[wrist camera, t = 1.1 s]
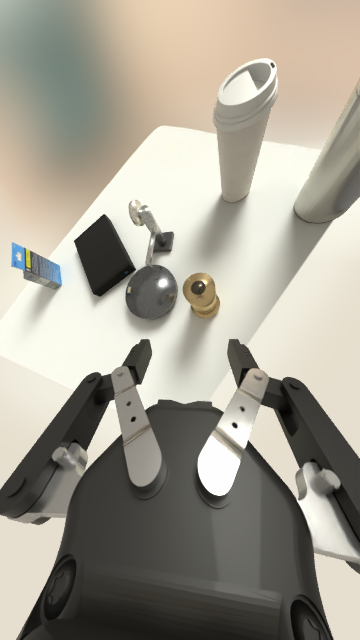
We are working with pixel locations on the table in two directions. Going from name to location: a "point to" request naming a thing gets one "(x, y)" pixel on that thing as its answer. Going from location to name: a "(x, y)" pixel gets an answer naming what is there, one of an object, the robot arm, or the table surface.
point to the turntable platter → (151, 292)
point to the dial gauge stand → (157, 238)
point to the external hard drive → (103, 256)
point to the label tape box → (36, 267)
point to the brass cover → (201, 295)
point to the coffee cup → (243, 123)
